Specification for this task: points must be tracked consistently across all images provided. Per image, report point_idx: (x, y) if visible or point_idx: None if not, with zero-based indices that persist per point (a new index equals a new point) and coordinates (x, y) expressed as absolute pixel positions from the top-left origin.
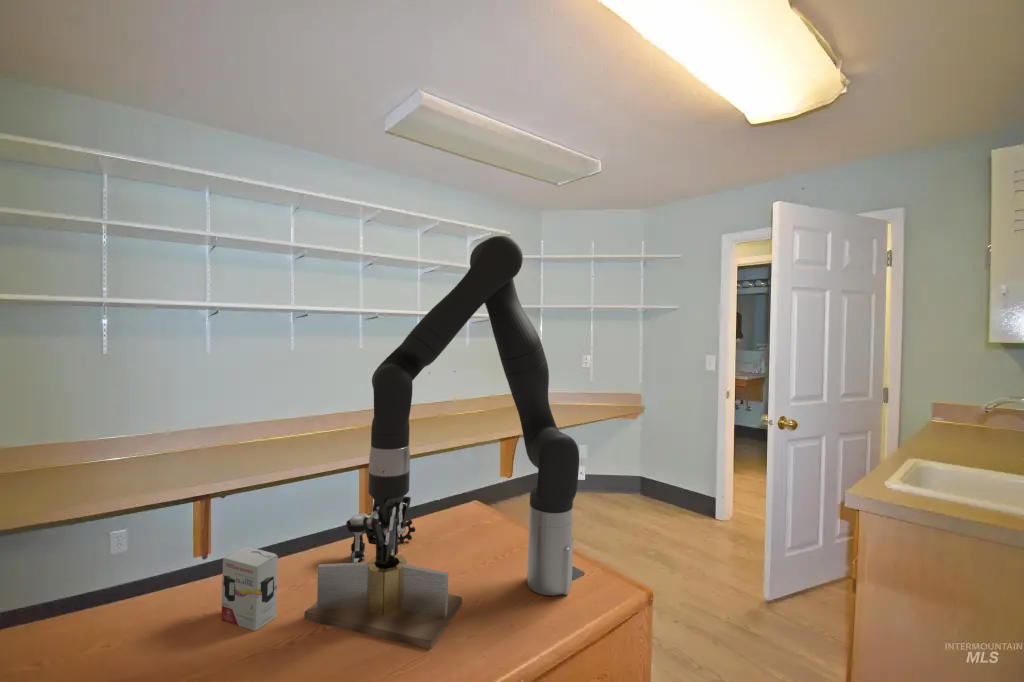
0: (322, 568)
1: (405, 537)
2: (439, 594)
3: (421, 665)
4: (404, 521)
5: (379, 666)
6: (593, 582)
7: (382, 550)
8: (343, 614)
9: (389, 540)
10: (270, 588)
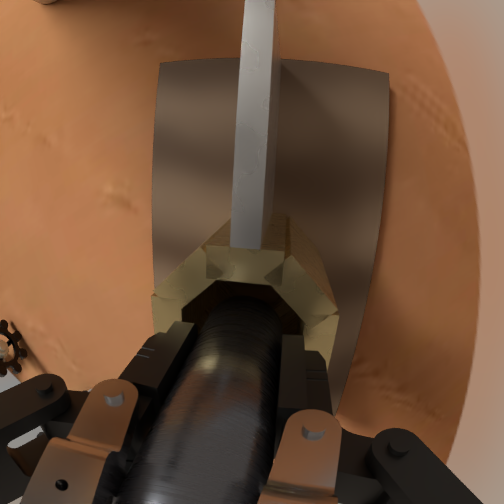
0: None
1: (7, 333)
2: (277, 57)
3: (433, 88)
4: (25, 401)
5: (457, 182)
6: None
7: (329, 400)
8: (333, 350)
9: (256, 419)
10: None
